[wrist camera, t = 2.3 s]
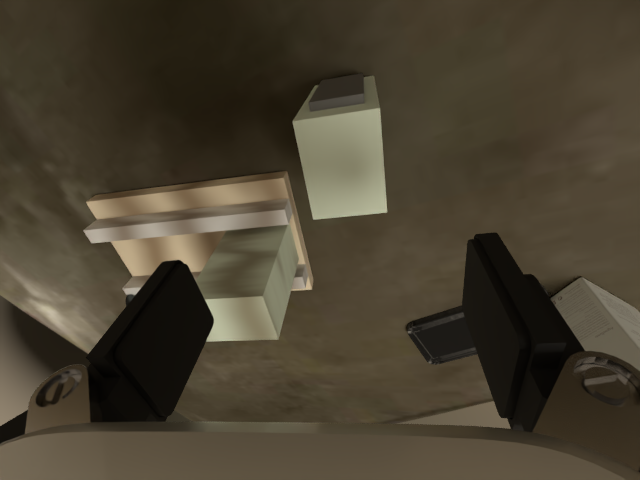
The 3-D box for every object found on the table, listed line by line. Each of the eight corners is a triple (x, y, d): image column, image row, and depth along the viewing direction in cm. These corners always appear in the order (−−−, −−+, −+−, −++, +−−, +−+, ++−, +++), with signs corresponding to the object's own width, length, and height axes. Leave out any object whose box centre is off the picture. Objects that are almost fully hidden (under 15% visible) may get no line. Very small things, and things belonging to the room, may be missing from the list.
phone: (404, 328, 39) (545, 285, 33) (403, 321, 40) (540, 278, 34) (430, 366, 42) (562, 333, 36) (429, 359, 43) (557, 325, 37)
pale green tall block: (327, 159, 29) (313, 219, 20) (313, 78, 25) (290, 111, 17) (379, 153, 28) (387, 212, 20) (373, 68, 24) (379, 97, 16)
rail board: (153, 290, 40) (90, 374, 31) (95, 194, 33) (-10, 267, 24) (313, 280, 37) (296, 372, 27) (287, 170, 30) (251, 245, 20)
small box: (528, 311, 36) (597, 437, 25) (580, 274, 33) (686, 402, 22) (581, 340, 38) (668, 469, 27) (637, 307, 34) (761, 441, 24)
